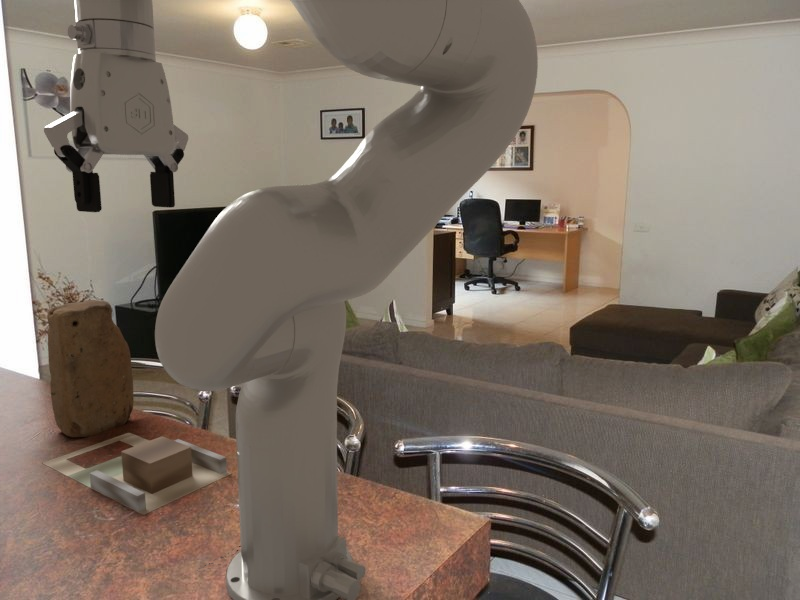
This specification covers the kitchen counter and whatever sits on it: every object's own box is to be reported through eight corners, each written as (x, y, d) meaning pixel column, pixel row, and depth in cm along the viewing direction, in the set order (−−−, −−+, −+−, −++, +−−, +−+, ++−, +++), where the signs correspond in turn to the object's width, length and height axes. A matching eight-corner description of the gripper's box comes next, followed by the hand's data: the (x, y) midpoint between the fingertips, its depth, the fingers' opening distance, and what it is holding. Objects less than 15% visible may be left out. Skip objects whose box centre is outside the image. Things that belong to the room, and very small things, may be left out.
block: (71, 444, 98) (59, 312, 94) (50, 431, 103) (37, 304, 99) (141, 424, 106) (132, 301, 102) (119, 412, 111) (109, 294, 107)
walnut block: (192, 476, 86) (190, 447, 85) (151, 494, 81) (149, 463, 81) (164, 464, 90) (162, 436, 89) (123, 480, 85) (121, 451, 84)
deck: (232, 480, 87) (231, 459, 87) (144, 522, 77) (142, 498, 76) (129, 438, 100) (128, 419, 100) (42, 469, 90) (40, 449, 89)
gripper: (63, 27, 61) (79, 215, 64) (204, 55, 76) (210, 206, 79) (15, 34, 64) (32, 212, 68) (158, 59, 79) (166, 204, 83)
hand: (128, 209), depth 74 cm, fingers open, 9 cm apart
